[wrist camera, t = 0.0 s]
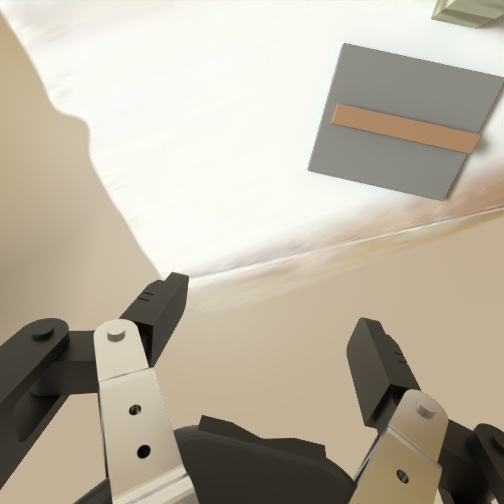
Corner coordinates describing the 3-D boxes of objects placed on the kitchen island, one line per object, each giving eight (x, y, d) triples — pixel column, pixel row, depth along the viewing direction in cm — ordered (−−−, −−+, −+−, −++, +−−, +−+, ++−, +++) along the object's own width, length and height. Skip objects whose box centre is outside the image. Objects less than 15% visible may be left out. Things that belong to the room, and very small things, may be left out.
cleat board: (341, 46, 32) (348, 36, 28) (496, 79, 31) (523, 73, 28) (307, 169, 38) (309, 173, 34) (437, 198, 37) (453, 206, 34)
